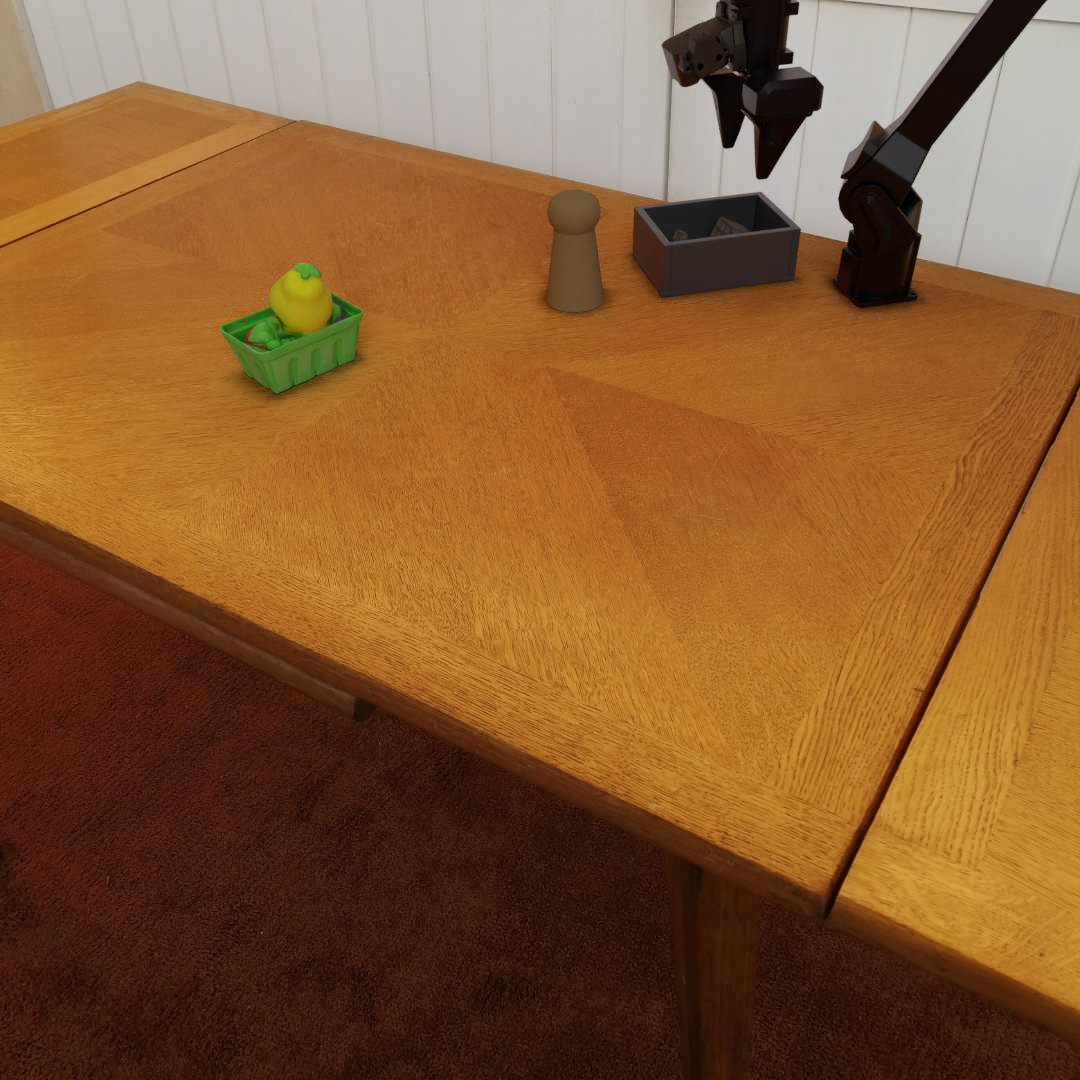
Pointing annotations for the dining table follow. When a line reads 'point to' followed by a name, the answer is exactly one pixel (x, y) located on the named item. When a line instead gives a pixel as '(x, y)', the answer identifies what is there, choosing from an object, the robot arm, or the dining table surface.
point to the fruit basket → (295, 331)
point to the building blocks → (716, 230)
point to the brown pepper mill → (574, 252)
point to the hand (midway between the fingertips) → (744, 162)
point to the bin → (714, 244)
